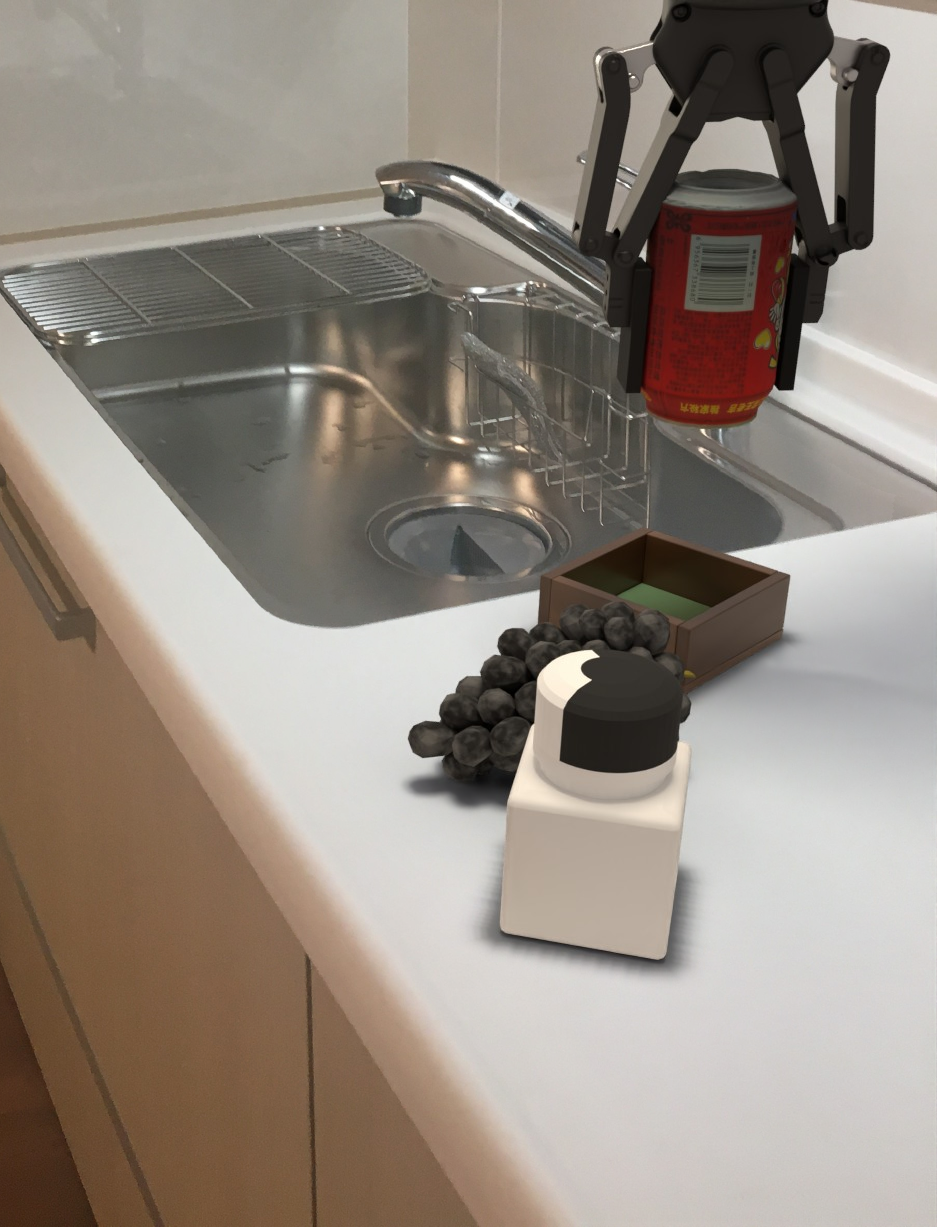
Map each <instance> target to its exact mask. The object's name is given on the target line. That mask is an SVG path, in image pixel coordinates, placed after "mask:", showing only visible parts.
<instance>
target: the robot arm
mask: <svg viewBox="0 0 937 1227" xmlns="http://www.w3.org/2000/svg"><path fill="white" fill-rule="evenodd" d="M828 5H829V0H662V9H661V15H660V18H659V21H658V23H657V25H656V26H655V28H654V29H653V30H652V33H651V34H650V36H649V40H647V41H643V42H638V43H635V44H631V45H627V46H624V47H620V48H615V49H614V48H613V47H611V46H602V47H600V48H598V49H597V50H596V51H595V52H594V54H593V56H592V66H593V73H594V79H595V86H596V92H597V99H596V105H595V109H594V114H593V120H592V125H591V130H590V135H589V140H588V145H587V151H586V155H585V161H584V166H583V171H582V176H581V182H580V187H579V192H578V197H577V202H576V207H575V212H574V217H573V222H572V227H571V239H572V241H573V243H574V244H575V246H576V248H577V249H578V251H579V252H580V253H581V254H582V255H583V256H585V257H588V258H590V257H592V258H596V259H598V260H602V261H603V262H604V263H605V273H604V284H603V298H602V310H601V311H602V314H603V317H604V320H605V321H606V323H607V325H608V326H609V328H620V330H619V344H618V354H617V355H618V356H617V366H616V379H617V380H618V382H619V384H620V386H621V387H622V389H623V391H624V393H625V394H642V392H641V382H642V371H643V360H644V349H645V338H646V328H647V317H648V306H649V295H650V284H651V273H652V270H651V269H650V267H649V266H648V265H647V263H646V260H645V259H644V257H642V256H640V255H641V253H642V251H643V250H644V247H645V245H646V244H647V239H648V236H649V234H650V232H651V230H652V228H653V226H654V224H655V222H656V220H657V217H658V215H659V213H660V211H661V207H662V202H663V201H664V200H666V198H667V196H668V194H669V192H670V190H671V188H672V186H673V184H674V182H675V179H676V177H677V175H678V174H679V173H680V171H681V168H682V166H683V165H684V162H685V161H686V158H687V156H688V154H689V152H690V150H691V148H692V146H693V144H694V143H695V142H696V141H697V140H698V138H699V137H700V135H701V134H702V131H703V129H704V127H705V125H706V123H722V122H725V121H728V120H732V119H735V118H741V119H744V120H749V121H753V122H760V121H761V123H762V126H763V127H764V130H765V132H766V134H767V138H768V142H769V146H770V149H771V153H772V157H773V160H774V165H775V168H776V172H777V175H778V178H779V179H781V180H782V181H783V182H784V183H785V184H786V185H787V186H788V187H789V188H790V189H791V190H792V192H793V193H794V194H795V195H796V196H797V213H796V220H795V230H794V239H795V243H796V244H795V245H796V246H797V249H798V250H797V253H795V252H792V253H791V260H790V266H789V276H788V284H787V291H786V299H785V308H784V315H783V322H782V331H781V338H780V346H779V354H778V362H777V369H776V379H775V383H774V386H773V387H775V388H776V389H777V391H779V392H783V391H785V392H786V391H787V392H788V391H789V392H790V391H795V383H796V375H797V367H798V360H799V353H800V352H799V351H800V344H801V337H802V330H803V324H818V323H819V321H820V320H821V318H822V316H823V314H824V308H825V300H826V292H827V287H828V278H829V271H830V268H831V267H832V266H835V264H836V263H837V262H838V260H839V258H840V256H841V255H842V254H846V253H847V252H852V251H853V250H855V251H863V250H865V249H867V248H869V247H870V246H871V244H872V243H873V241H874V234H875V232H874V231H875V230H874V229H875V228H874V227H875V185H876V184H875V183H876V181H875V180H876V136H877V134H876V132H877V96H878V93H879V90H880V88H881V85H882V82H883V79H884V77H885V75H886V74H885V73H886V71H887V69H888V65H889V63H890V59H891V52H890V50H889V48H888V46H886V45H884V44H881V43H879V42H877V41H874V40H872V39H869V38H867V37H860V38H857V39H851V38H847V37H843V36H837V35H835V33H834V30H833V28H832V25H831V23H830V20H829V14H828V8H829V7H828ZM826 60H828V62H829V65H830V70H829V76H830V78H831V80H832V81H833V82H835V83H836V84H837V85H836V90H835V100H834V101H835V105H834V106H835V107H834V108H835V109H834V110H835V111H834V120H835V121H834V190H833V191H834V192H833V193H834V197H833V198H834V199H833V201H834V204H833V209H834V210H833V216H834V217H833V222H832V223H830V224H829V222H828V218H827V213H826V210H825V206H824V201H823V198H822V195H821V194H822V193H821V190H820V186H819V182H818V179H817V178H818V177H817V175H816V171H815V168H814V163H813V158H812V156H811V151H810V148H809V144H808V140H807V136H806V123H805V119H804V114H803V110H802V107H801V102H800V99H799V95H798V94H799V93H800V92H801V90H802V89H803V88H804V86H805V85H806V84H807V83H808V82H809V81H810V79H811V78H812V77H813V75H814V74H815V73H816V72H817V71H818V69H819V68H820V67H821V66H822V65H823V63H824V62H825V61H826ZM653 65H655V67H656V69H657V70H658V71H659V74H660V75H661V77H662V78H663V80H664V81H665V82H666V84H667V86H668V87H669V89H670V91H671V92H672V93H671V95H670V97H669V99H668V102H667V104H666V105H665V108H664V110H663V112H662V115H661V117H660V122H659V127H658V129H657V132H656V134H655V136H654V138H653V140H652V142H651V144H650V147H649V149H648V151H647V154H646V156H645V157H644V160H643V162H642V164H641V166H640V168H639V170H638V173H637V174H636V177H635V178H634V179H635V180H634V181H633V183H632V185H631V188H630V190H629V192H628V194H627V196H626V199H625V201H624V203H623V205H622V207H621V209H620V212H619V214H618V216H617V218H616V220H615V223H614V224H613V227H612V228H611V231H609V230H607V227H608V224H609V219H610V212H611V208H612V203H613V198H614V193H615V189H616V188H615V187H616V184H617V180H618V179H617V178H618V173H619V168H620V163H621V158H622V154H623V149H624V143H625V140H626V135H627V129H628V125H629V120H630V114H631V104H632V103H631V102H632V95H631V94H633V93H636V92H637V91H638V90H640V88H641V87H642V85H643V83H644V77H645V73H646V71H647V70H648V69H649V68H650V67H652V66H653Z"/></svg>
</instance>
